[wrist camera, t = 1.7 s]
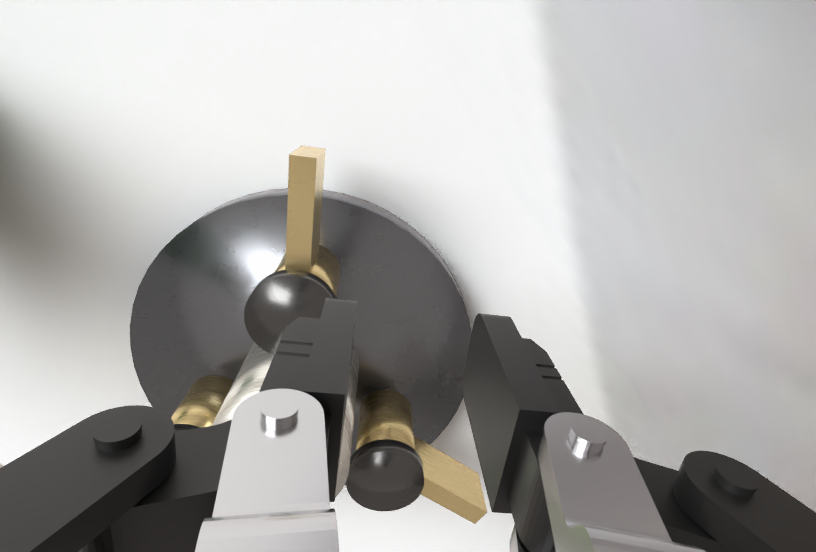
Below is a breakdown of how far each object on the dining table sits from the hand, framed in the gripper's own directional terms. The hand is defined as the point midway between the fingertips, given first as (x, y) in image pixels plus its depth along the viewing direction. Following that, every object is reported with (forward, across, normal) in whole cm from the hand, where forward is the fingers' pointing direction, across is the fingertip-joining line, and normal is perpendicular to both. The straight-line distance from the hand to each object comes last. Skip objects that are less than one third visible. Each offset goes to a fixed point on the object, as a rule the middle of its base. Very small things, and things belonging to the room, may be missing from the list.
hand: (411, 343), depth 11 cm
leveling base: (+19, +4, +12) cm, 23 cm away
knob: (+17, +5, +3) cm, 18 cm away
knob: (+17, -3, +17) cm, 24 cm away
